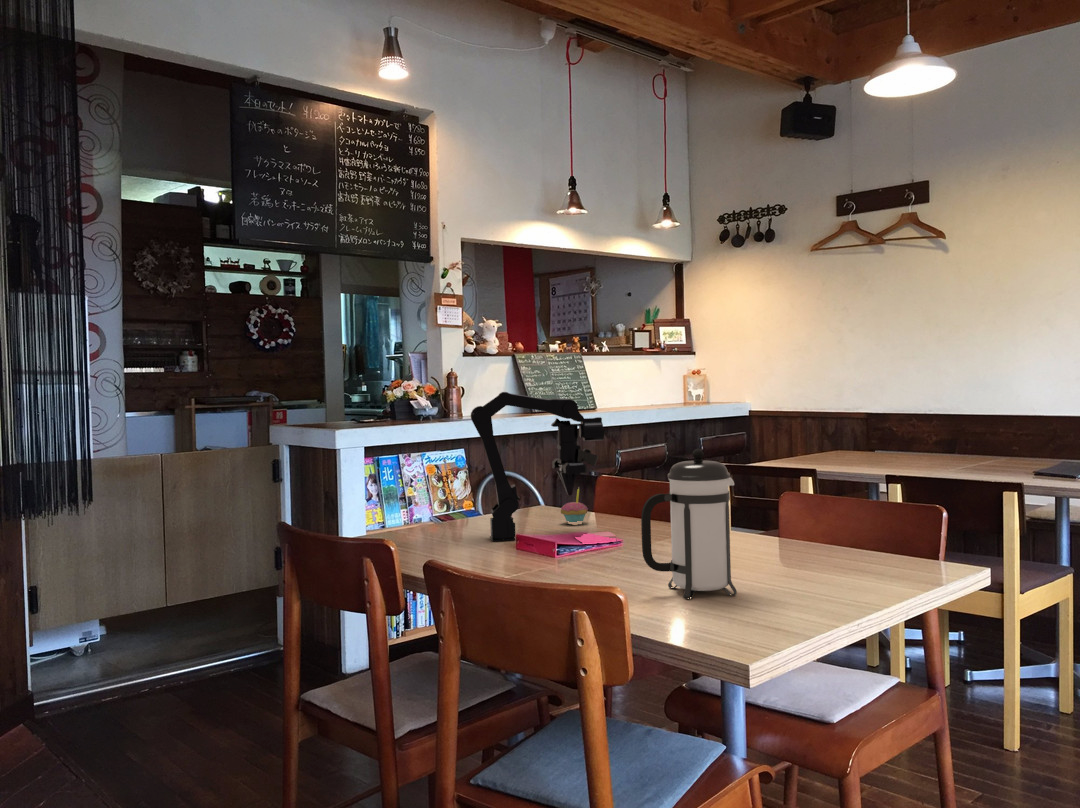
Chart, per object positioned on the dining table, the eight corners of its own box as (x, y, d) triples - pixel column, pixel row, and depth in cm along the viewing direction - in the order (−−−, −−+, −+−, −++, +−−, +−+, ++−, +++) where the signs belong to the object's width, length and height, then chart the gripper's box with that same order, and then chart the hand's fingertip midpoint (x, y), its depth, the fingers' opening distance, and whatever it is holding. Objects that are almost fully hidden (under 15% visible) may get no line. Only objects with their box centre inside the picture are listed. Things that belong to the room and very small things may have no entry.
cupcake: (592, 523, 269) (591, 485, 268) (579, 527, 261) (578, 488, 261) (569, 521, 273) (568, 484, 273) (556, 525, 266) (554, 487, 266)
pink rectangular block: (582, 539, 239) (588, 543, 232) (581, 533, 239) (588, 537, 232) (609, 537, 241) (616, 541, 234) (609, 531, 241) (616, 535, 234)
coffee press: (683, 580, 188) (680, 445, 187) (750, 589, 177) (747, 446, 177) (641, 596, 174) (637, 451, 174) (711, 607, 164) (707, 453, 163)
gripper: (603, 442, 238) (605, 497, 239) (586, 438, 257) (588, 490, 257) (565, 444, 236) (567, 499, 237) (551, 440, 254) (552, 492, 255)
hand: (569, 495), depth 246 cm, fingers closed
